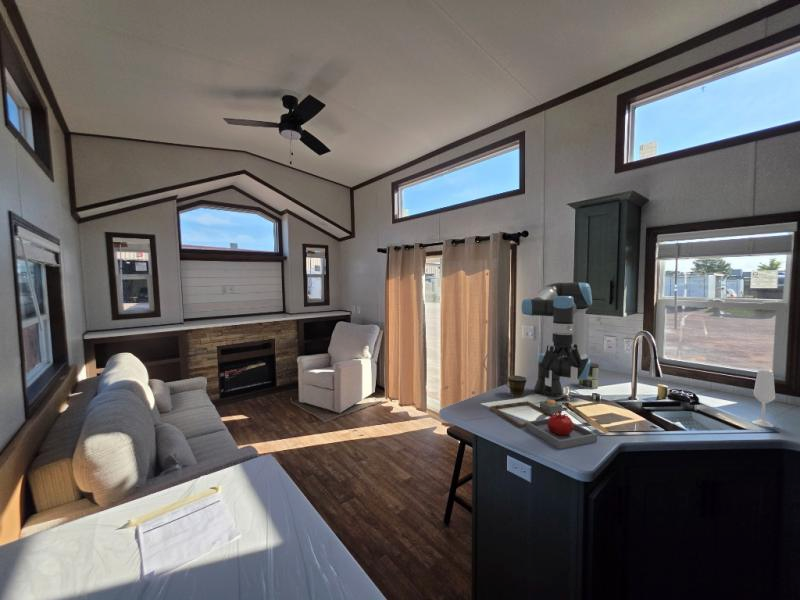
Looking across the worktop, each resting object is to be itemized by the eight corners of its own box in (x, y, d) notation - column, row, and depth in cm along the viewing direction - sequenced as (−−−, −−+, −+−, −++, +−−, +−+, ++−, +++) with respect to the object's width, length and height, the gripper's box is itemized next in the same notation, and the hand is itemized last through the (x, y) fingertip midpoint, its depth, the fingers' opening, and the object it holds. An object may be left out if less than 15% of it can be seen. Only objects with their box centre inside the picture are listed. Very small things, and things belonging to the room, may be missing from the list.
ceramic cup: (518, 391, 193) (518, 374, 193) (530, 397, 184) (530, 379, 184) (499, 393, 189) (499, 376, 189) (510, 399, 180) (510, 381, 179)
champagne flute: (775, 428, 145) (778, 374, 144) (752, 424, 149) (755, 371, 148) (772, 423, 150) (775, 371, 149) (750, 419, 154) (753, 369, 153)
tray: (559, 422, 150) (560, 416, 150) (596, 441, 132) (597, 434, 132) (525, 428, 144) (525, 421, 144) (559, 449, 126) (559, 441, 126)
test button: (550, 406, 166) (551, 398, 166) (557, 409, 162) (557, 401, 162) (544, 407, 165) (544, 399, 165) (550, 410, 161) (550, 402, 161)
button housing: (550, 407, 168) (551, 400, 168) (561, 412, 162) (561, 404, 161) (539, 409, 166) (540, 401, 166) (550, 414, 159) (550, 406, 159)
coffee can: (583, 388, 199) (583, 365, 198) (576, 383, 209) (576, 361, 208) (601, 389, 197) (602, 366, 197) (593, 384, 208) (594, 362, 207)
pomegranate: (578, 437, 134) (580, 415, 133) (556, 439, 132) (558, 416, 131) (562, 426, 144) (563, 405, 143) (541, 427, 142) (542, 406, 141)
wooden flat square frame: (527, 404, 173) (527, 401, 173) (561, 421, 151) (561, 418, 151) (489, 409, 166) (490, 406, 166) (520, 428, 144) (520, 424, 144)
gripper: (545, 336, 128) (543, 389, 129) (593, 333, 136) (591, 383, 137) (531, 333, 135) (530, 384, 136) (578, 330, 143) (576, 378, 144)
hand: (561, 384), depth 137 cm, fingers open, 13 cm apart
